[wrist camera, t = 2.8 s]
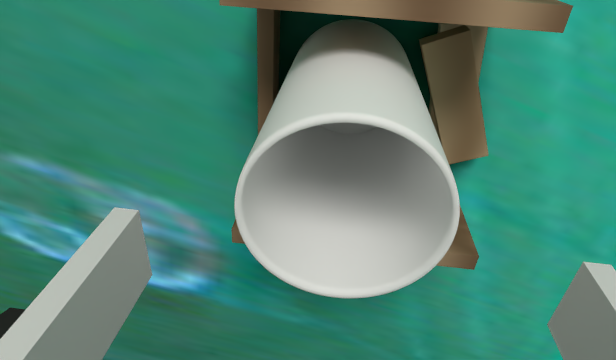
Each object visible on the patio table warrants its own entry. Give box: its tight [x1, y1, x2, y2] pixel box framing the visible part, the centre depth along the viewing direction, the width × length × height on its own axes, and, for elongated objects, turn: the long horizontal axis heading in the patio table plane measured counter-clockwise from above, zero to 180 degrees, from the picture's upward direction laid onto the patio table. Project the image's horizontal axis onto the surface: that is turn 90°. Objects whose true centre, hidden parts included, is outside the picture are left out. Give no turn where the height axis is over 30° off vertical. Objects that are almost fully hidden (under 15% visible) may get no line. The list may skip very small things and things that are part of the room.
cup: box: [235, 19, 460, 298], centre depth 22 cm, size 8×8×16 cm
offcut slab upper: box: [419, 25, 488, 164], centre depth 27 cm, size 3×9×2 cm, turn 19°
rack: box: [220, 0, 573, 270], centre depth 24 cm, size 14×14×10 cm
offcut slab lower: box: [428, 23, 488, 137], centre depth 28 cm, size 3×9×2 cm, turn 3°
